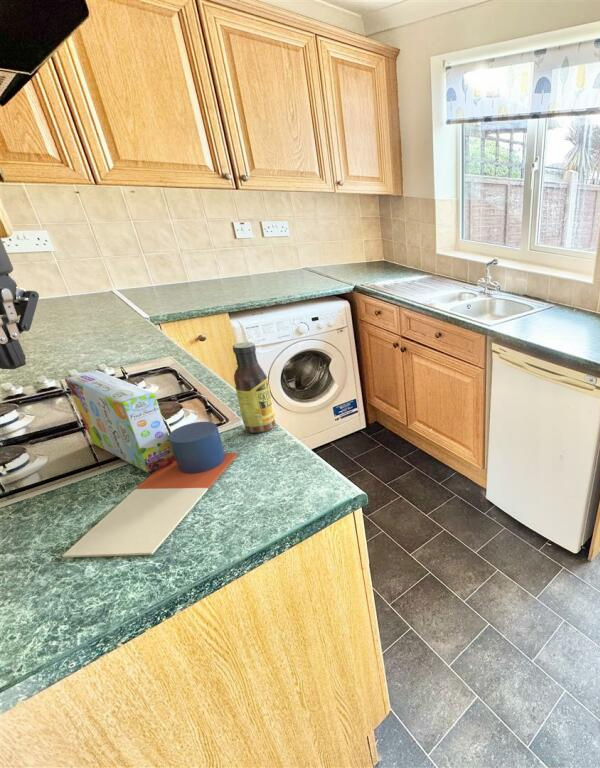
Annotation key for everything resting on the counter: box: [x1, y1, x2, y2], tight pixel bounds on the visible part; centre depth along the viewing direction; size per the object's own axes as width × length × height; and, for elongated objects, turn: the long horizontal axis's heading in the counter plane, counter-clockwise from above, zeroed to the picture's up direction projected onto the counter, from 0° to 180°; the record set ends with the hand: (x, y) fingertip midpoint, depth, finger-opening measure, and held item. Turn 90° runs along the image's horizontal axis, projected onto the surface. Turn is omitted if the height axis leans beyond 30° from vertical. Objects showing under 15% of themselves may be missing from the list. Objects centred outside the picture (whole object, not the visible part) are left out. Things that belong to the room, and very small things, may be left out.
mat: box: [61, 452, 238, 559], centre depth 73 cm, size 12×26×1 cm, turn 6°
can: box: [168, 421, 226, 474], centre depth 81 cm, size 8×8×7 cm
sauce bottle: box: [232, 341, 276, 434], centre depth 92 cm, size 6×6×20 cm
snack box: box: [64, 369, 176, 474], centre depth 81 cm, size 21×6×15 cm, turn 64°
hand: (12, 367), depth 58 cm, fingers closed
